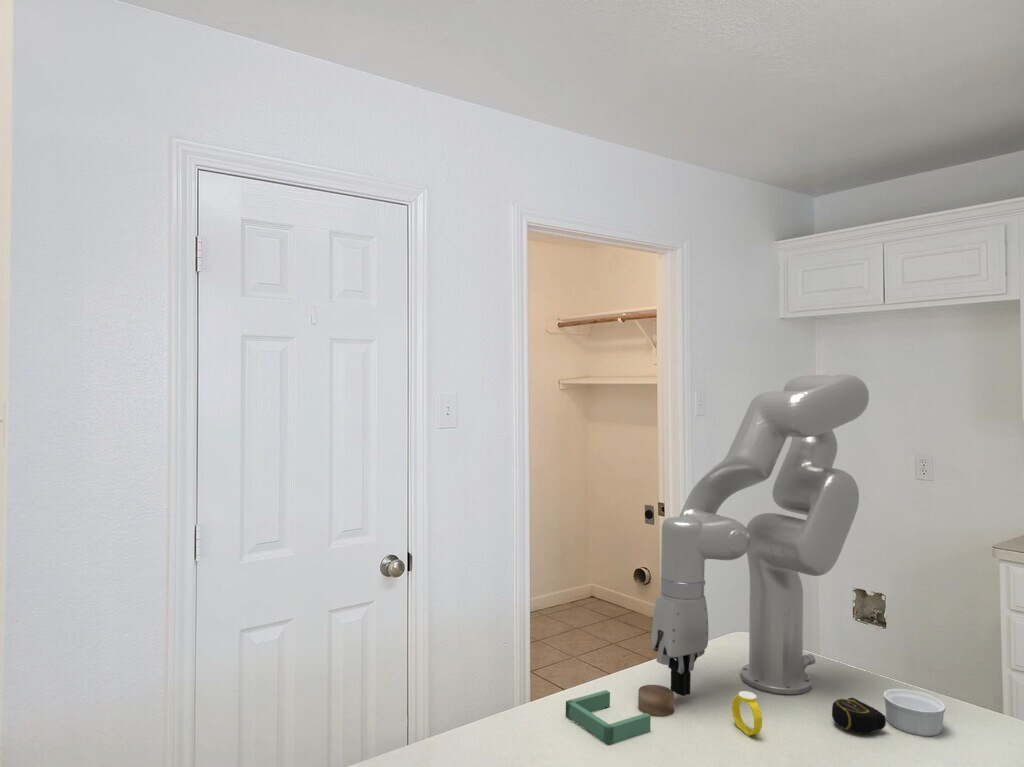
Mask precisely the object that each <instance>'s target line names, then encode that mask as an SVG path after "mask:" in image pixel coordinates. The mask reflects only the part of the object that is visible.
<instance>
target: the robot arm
mask: <svg viewBox="0 0 1024 767" xmlns="http://www.w3.org/2000/svg"><path fill="white" fill-rule="evenodd" d="M869 399H870V392H869V389H868V386H867V385H866V383H865V382H864V380H862V379H860V378H859V377H857V376H856V375H852V374H823V375H822V374H817V375H816V374H814V375H813V374H811V375H802V376H797V377H793V378H791V379H789V380H788V381H787V382H786V383H785V385H784V387H783V390H777V391H776V390H775V391H774V390H773V391H764V392H761V393H759V394H757V395H755V397H754V398H752V400H751V402H750V404H749V406H748V407H747V410H746V412H745V415H744V417H743V419H742V421H741V424H740V426H739V428H738V430H737V433H736V435H735V436H734V439H733V440H732V443H731V445H730V447H729V450H728V452H727V454H726V456H725V457H724V458H723V460H722V461H720V462H718V463H717V464H716V465H715V466H714V467H713V468H711V469H710V470H708V472H707V473H706V474H705V475H704V476H703V477H701V479H700V480H698V482H697V483H695V485H694V486H693V488H692V489H691V491H690V492H689V494H688V496H687V497H686V500H685V503H684V505H683V507H682V509H681V512H680V514H679V516H673V517H672V516H670V517H667V518H665V519H664V520H663V521H662V525H661V552H660V553H661V554H660V555H661V556H660V558H661V560H660V594H659V595H657V596H656V601H655V604H654V609H653V617H652V625H651V626H652V627H651V638H650V641H651V642H650V643H651V644H650V645H651V650H653V651H654V652H657V655H656V662H657V663H658V664H661V665H664V666H667V668H668V669H670V689H671V690H672V691H673V692H674V694H677V695H679V696H681V697H685V696H690V694H691V684H692V683H691V681H692V680H691V677H692V676H691V675H692V673H691V672H693V671H694V669H695V668H694V667H695V662H696V661H697V659H698V658H700V657H702V656H703V655H704V654H705V651H706V648H707V647H708V644H709V616H708V615H709V612H708V607H707V606H708V605H707V599H706V595H705V586H706V580H705V569H706V568H705V561H706V560H716V561H717V560H718V561H733V560H738V559H739V558H741V557H743V556H744V555H745V554H746V556H747V563H748V564H747V565H748V570H749V572H748V573H749V618H748V620H749V628H748V629H749V633H748V635H749V637H748V638H749V639H748V641H749V642H748V644H749V645H748V648H749V649H748V651H749V653H748V663H747V664H745V665H743V666H742V667H741V668H740V678H741V679H742V681H743V682H744V683H746V684H747V685H749V686H751V687H753V688H755V689H758V690H761V691H763V692H764V691H765V692H767V693H772V694H773V693H774V694H778V695H780V694H781V695H798V694H799V695H800V694H803V693H806V692H808V691H809V690H811V689H812V679H811V677H810V676H809V674H807V673H805V669H806V668H807V667H809V666H811V665H814V664H815V663H816V657H815V656H814V655H813V653H807V654H803V650H804V649H803V648H804V647H803V646H804V643H803V639H804V636H803V635H804V633H803V632H804V630H803V629H804V621H803V620H804V590H803V583H802V580H801V577H800V574H803V575H807V576H812V577H819V576H820V577H821V576H823V575H826V574H827V573H829V572H830V571H831V570H832V569H833V568H834V566H835V565H836V563H837V562H838V559H839V557H840V555H841V552H842V550H843V549H844V548H843V547H844V545H845V542H846V540H847V538H848V536H849V532H850V530H851V528H852V525H853V523H854V520H855V517H856V515H857V511H858V507H859V503H860V502H859V501H860V493H859V487H858V484H857V482H856V480H855V478H854V477H853V475H851V474H849V473H848V472H847V471H845V470H842V469H839V468H833V466H834V463H835V461H836V460H835V459H836V458H837V454H838V442H837V437H836V435H835V433H834V429H836V428H839V427H841V426H844V425H846V424H848V423H850V422H852V421H855V420H856V419H857V418H859V417H860V416H862V414H863V413H864V412H865V410H866V409H867V407H868V404H869ZM788 437H789V438H791V441H790V445H789V448H788V451H787V452H786V454H785V457H784V458H783V462H782V464H781V467H780V469H779V471H778V473H777V476H776V478H775V481H774V483H773V487H772V493H771V494H772V499H773V501H774V503H775V504H776V505H777V506H778V507H779V508H781V509H782V510H785V511H788V512H790V513H795V514H799V515H804V516H807V517H806V519H803V518H799V517H795V516H790V515H785V514H780V513H774V512H771V513H770V512H767V513H766V512H764V513H760V514H758V515H755V516H754V517H752V518H751V519H750V520H749V522H748V523H747V525H744V524H743V523H742V522H741V521H739V520H736V519H735V518H731V517H728V516H723V515H720V514H717V513H718V510H719V509H720V508H721V506H722V504H723V503H724V502H725V501H727V499H728V498H730V497H731V496H732V495H734V494H736V493H737V492H739V491H742V490H744V489H747V488H750V487H752V486H755V485H757V484H760V483H763V482H765V481H766V480H768V479H769V478H770V476H772V474H773V473H772V472H773V470H774V468H775V466H776V463H777V460H778V458H779V456H780V455H781V454H780V453H781V452H782V449H783V447H784V445H785V443H786V441H787V438H788ZM799 573H800V574H799Z"/></svg>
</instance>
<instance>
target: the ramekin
mask: <svg viewBox="0 0 1024 767" xmlns="http://www.w3.org/2000/svg"><path fill="white" fill-rule="evenodd" d="M883 699H884V704H885V705H884V706H885V718H886V721H887V722H888V723H889V724H890V725H891V726H893V727H894V728H895V729H898V730H900V731H901V732H905V733H906V734H907V733H908V734H911V735H914V736H921V737H933V736H934V737H935V736H937V735H940V734H941V733H942V730H943V724H944V713H945V711H946V705H945V704H944V702H942V700H940V699H938V698H937V697H934V696H933V695H931V694H928V693H924V692H922V691H918V690H917V691H916V690H912V689H907V688H906V689H905V688H892V689H891V688H890V689H887V690H885V691H884V692H883Z"/></svg>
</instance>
